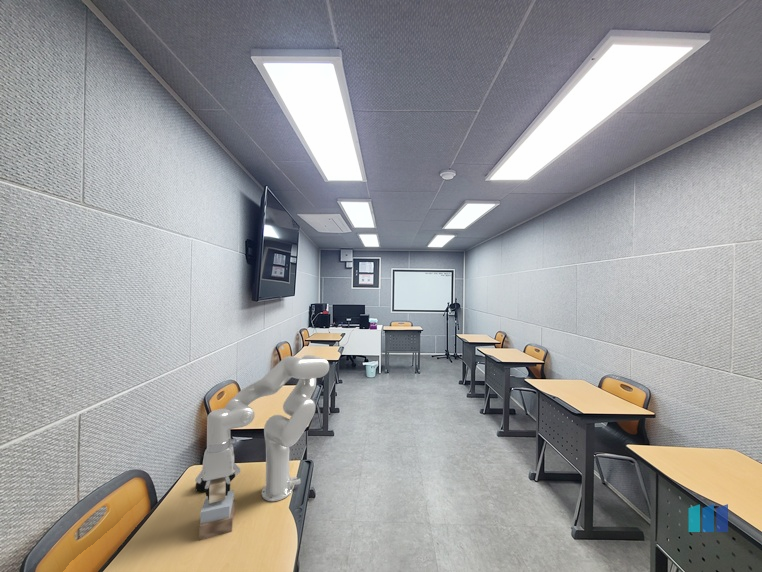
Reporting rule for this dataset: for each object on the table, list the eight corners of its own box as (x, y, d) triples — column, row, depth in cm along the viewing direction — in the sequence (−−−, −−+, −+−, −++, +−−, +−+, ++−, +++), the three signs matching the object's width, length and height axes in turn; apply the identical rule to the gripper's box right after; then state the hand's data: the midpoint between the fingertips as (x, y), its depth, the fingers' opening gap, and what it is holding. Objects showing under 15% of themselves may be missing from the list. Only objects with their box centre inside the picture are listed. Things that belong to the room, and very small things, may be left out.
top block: (233, 500, 112) (233, 490, 112) (229, 517, 103) (229, 506, 103) (206, 506, 109) (207, 495, 109) (200, 524, 100) (200, 512, 101)
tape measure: (211, 492, 124) (211, 483, 124) (193, 495, 122) (193, 486, 122) (215, 482, 130) (215, 473, 130) (198, 485, 128) (198, 476, 128)
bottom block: (234, 512, 112) (234, 499, 112) (231, 532, 103) (232, 518, 103) (205, 520, 109) (205, 506, 109) (199, 541, 99) (199, 526, 99)
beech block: (226, 490, 109) (226, 474, 109) (225, 499, 105) (225, 482, 105) (211, 494, 108) (211, 477, 108) (209, 503, 103) (209, 486, 103)
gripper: (244, 436, 113) (244, 483, 113) (194, 444, 107) (193, 494, 107) (243, 445, 106) (243, 495, 106) (189, 455, 100) (188, 508, 100)
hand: (218, 494), depth 106 cm, fingers closed on beech block, 4 cm apart
